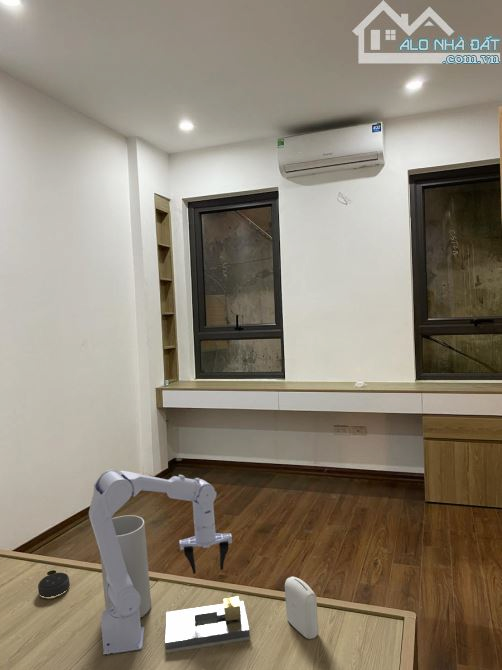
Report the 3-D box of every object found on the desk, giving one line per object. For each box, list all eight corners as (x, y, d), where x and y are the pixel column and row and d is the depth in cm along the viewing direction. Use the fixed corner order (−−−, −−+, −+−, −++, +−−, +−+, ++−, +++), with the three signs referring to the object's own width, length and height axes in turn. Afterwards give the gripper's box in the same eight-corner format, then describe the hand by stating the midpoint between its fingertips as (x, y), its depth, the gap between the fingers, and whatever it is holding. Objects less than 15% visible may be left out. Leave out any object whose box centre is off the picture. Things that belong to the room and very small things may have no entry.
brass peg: (226, 629, 127) (224, 608, 126) (224, 619, 131) (223, 598, 130) (241, 627, 127) (240, 605, 127) (239, 617, 131) (238, 596, 131)
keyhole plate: (165, 653, 121) (165, 642, 121) (167, 621, 133) (166, 612, 133) (249, 639, 124) (249, 629, 124) (244, 609, 136) (243, 600, 135)
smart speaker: (40, 587, 153) (39, 575, 153) (70, 580, 156) (69, 568, 156) (37, 603, 145) (36, 591, 145) (69, 596, 148) (68, 584, 147)
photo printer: (284, 619, 130) (281, 575, 129) (297, 613, 133) (295, 570, 132) (307, 642, 122) (304, 595, 121) (321, 635, 124) (318, 588, 123)
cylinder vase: (97, 622, 134) (89, 535, 132) (120, 595, 146) (112, 514, 144) (139, 627, 131) (131, 537, 129) (158, 598, 143) (151, 516, 141)
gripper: (178, 533, 132) (182, 581, 133) (231, 526, 134) (235, 573, 135) (178, 521, 139) (182, 567, 140) (229, 515, 141) (232, 560, 142)
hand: (208, 569), depth 138 cm, fingers open, 7 cm apart
